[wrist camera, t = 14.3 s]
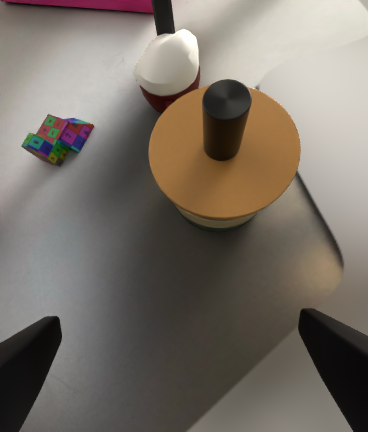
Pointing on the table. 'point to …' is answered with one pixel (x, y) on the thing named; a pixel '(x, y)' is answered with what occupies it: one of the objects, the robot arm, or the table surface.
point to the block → (57, 138)
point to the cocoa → (167, 61)
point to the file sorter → (96, 4)
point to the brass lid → (224, 151)
